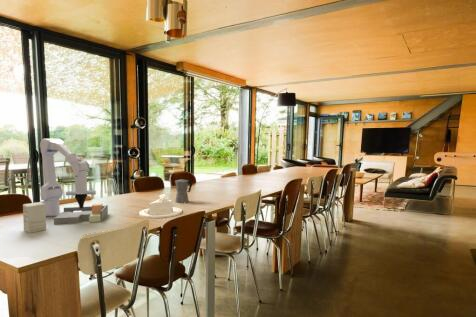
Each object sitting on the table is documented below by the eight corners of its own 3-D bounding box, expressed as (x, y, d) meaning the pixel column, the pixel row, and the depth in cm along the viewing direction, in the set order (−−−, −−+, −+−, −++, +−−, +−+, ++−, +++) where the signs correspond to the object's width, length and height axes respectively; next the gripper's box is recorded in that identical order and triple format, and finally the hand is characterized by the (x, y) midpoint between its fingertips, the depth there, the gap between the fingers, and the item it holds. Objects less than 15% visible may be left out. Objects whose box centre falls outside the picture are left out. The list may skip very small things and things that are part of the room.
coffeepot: (170, 202, 203) (170, 176, 202) (179, 199, 211) (178, 175, 210) (187, 204, 196) (187, 178, 195) (196, 201, 204) (195, 176, 203)
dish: (161, 207, 189) (161, 190, 188) (190, 211, 176) (190, 193, 175) (129, 214, 167) (129, 195, 167) (160, 221, 155) (160, 200, 154)
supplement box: (41, 226, 142) (40, 201, 141) (46, 229, 137) (45, 203, 137) (23, 230, 136) (22, 204, 136) (28, 233, 132) (27, 206, 131)
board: (53, 224, 147) (53, 213, 147) (64, 216, 162) (64, 206, 162) (102, 221, 153) (101, 211, 152) (107, 214, 168) (107, 204, 168)
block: (91, 213, 156) (91, 205, 156) (93, 211, 161) (93, 203, 160) (100, 213, 158) (100, 205, 157) (102, 211, 162) (102, 203, 162)
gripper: (63, 184, 151) (64, 210, 151) (93, 184, 154) (94, 208, 155) (67, 182, 157) (68, 207, 158) (96, 182, 161) (97, 206, 162)
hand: (81, 207), depth 157 cm, fingers closed
